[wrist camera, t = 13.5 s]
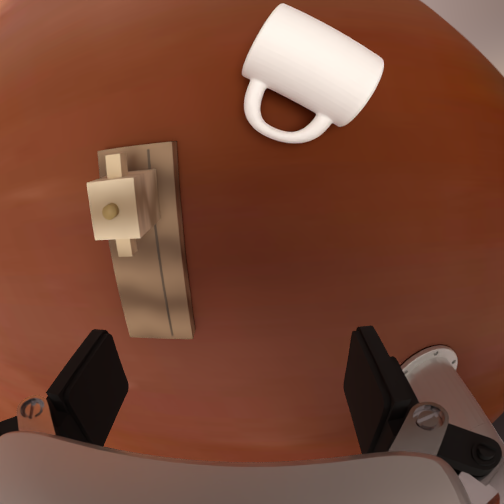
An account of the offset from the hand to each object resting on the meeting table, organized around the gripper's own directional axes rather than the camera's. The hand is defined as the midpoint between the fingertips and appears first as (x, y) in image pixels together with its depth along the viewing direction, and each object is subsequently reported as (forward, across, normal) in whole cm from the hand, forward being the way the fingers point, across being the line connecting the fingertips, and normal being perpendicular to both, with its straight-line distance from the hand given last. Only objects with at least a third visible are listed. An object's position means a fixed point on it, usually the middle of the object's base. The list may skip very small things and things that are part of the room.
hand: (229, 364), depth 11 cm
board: (+22, +11, +2) cm, 25 cm away
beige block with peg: (+20, +11, -4) cm, 23 cm away
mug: (+22, -5, -14) cm, 27 cm away
